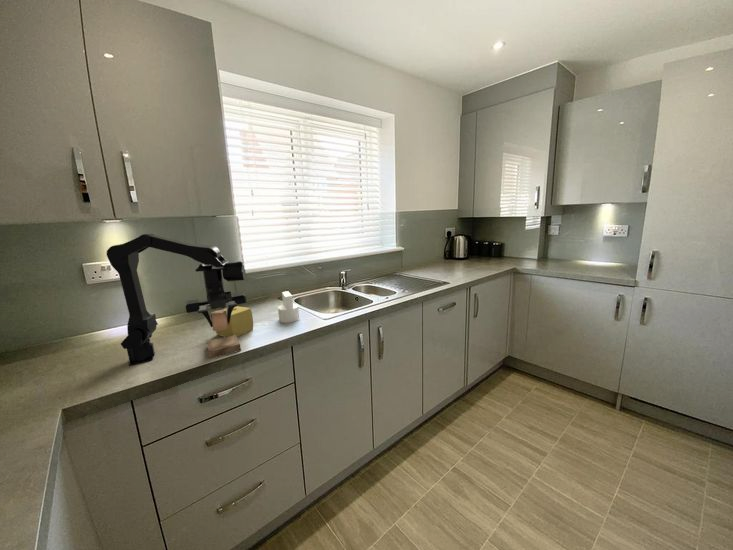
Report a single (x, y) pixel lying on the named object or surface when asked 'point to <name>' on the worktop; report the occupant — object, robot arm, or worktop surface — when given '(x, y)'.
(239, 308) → the cheese
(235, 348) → the walnut base
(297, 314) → the base with upright slab
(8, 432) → the worktop surface
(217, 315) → the terracotta cylinder
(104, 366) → the worktop surface
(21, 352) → the worktop surface
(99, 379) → the worktop surface
